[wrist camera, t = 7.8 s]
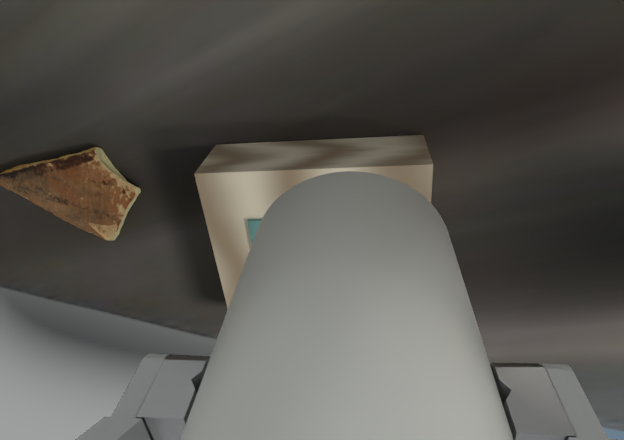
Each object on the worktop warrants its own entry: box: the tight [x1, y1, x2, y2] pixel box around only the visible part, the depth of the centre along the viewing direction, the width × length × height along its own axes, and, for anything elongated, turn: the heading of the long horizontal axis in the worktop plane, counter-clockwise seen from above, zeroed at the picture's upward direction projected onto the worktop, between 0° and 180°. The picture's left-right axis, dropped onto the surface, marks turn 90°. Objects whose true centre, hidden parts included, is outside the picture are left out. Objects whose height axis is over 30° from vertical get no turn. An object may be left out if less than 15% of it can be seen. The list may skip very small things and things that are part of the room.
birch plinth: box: [194, 135, 433, 308], centre depth 33 cm, size 15×16×5 cm
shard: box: [0, 147, 141, 241], centre depth 34 cm, size 11×8×2 cm
